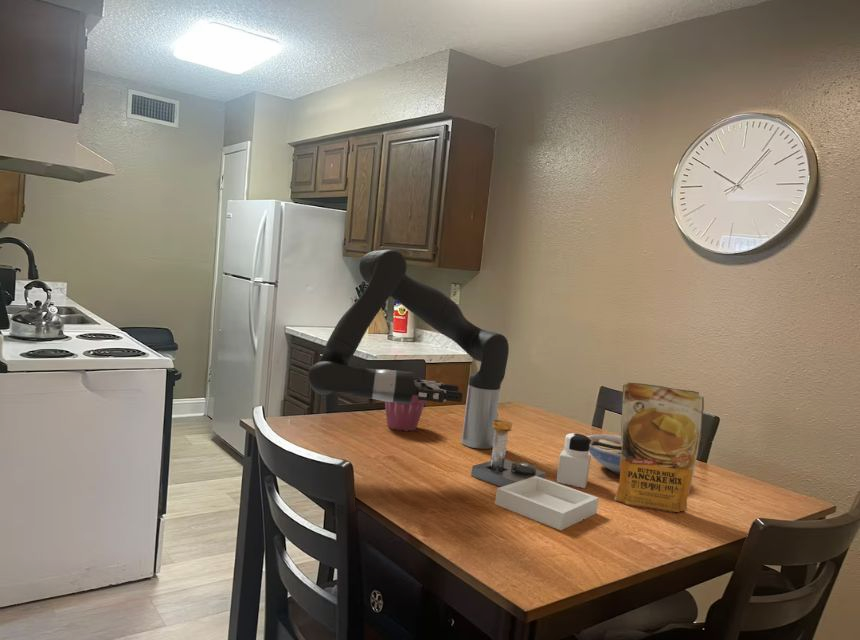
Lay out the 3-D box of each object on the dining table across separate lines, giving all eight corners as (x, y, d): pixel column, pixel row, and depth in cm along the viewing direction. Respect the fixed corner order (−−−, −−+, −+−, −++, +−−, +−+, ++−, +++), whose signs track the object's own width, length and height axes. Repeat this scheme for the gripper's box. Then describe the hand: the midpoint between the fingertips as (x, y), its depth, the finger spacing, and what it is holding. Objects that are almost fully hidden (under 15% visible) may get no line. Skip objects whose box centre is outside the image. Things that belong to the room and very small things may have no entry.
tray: (533, 490, 145) (535, 475, 144) (596, 513, 134) (598, 497, 134) (494, 504, 133) (496, 488, 132) (560, 530, 122) (562, 513, 122)
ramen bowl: (674, 472, 174) (678, 444, 173) (669, 495, 153) (673, 463, 153) (585, 453, 184) (589, 426, 184) (569, 471, 163) (573, 441, 163)
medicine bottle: (587, 480, 157) (593, 435, 156) (585, 489, 150) (591, 441, 149) (559, 475, 159) (565, 429, 158) (555, 482, 152) (562, 435, 152)
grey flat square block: (501, 467, 160) (503, 452, 159) (544, 482, 151) (546, 466, 151) (471, 475, 150) (473, 459, 150) (515, 492, 141) (518, 475, 141)
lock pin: (493, 474, 153) (500, 419, 152) (508, 479, 150) (515, 423, 149) (482, 477, 150) (489, 421, 149) (497, 483, 147) (505, 425, 146)
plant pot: (369, 424, 188) (373, 383, 187) (397, 419, 199) (401, 380, 198) (406, 436, 180) (411, 393, 179) (433, 429, 191) (438, 389, 190)
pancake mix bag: (605, 493, 149) (621, 379, 147) (687, 506, 146) (704, 390, 144) (609, 503, 142) (626, 383, 140) (695, 517, 139) (713, 395, 137)
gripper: (395, 375, 139) (465, 383, 140) (394, 366, 153) (458, 373, 155) (391, 407, 140) (461, 415, 141) (391, 395, 154) (454, 402, 155)
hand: (460, 393), depth 148 cm, fingers open, 8 cm apart
